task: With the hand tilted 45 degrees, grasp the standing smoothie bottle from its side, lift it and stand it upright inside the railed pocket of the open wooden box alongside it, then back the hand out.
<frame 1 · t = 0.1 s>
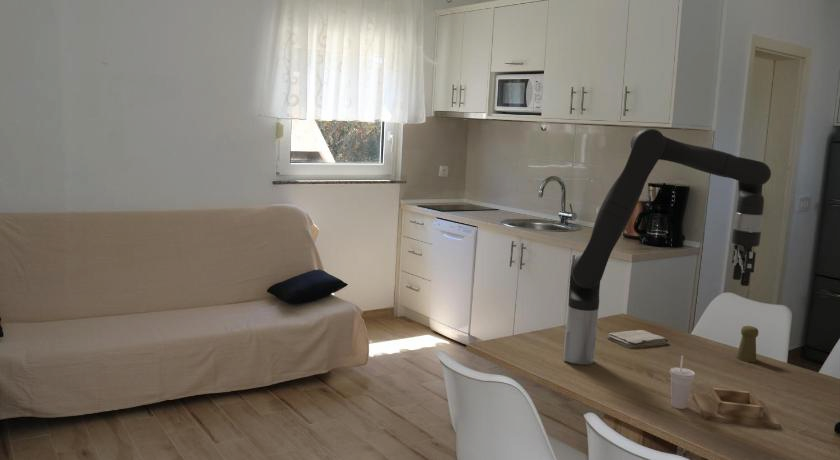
hand: (740, 282, 216), 29 cm above the table, tool pointing down, fingers open, 8 cm apart
open wooden box: (733, 412, 192), on the table
cork: (746, 359, 238), on the table
washcloth: (636, 343, 251), on the table
smoothie: (678, 406, 194), on the table
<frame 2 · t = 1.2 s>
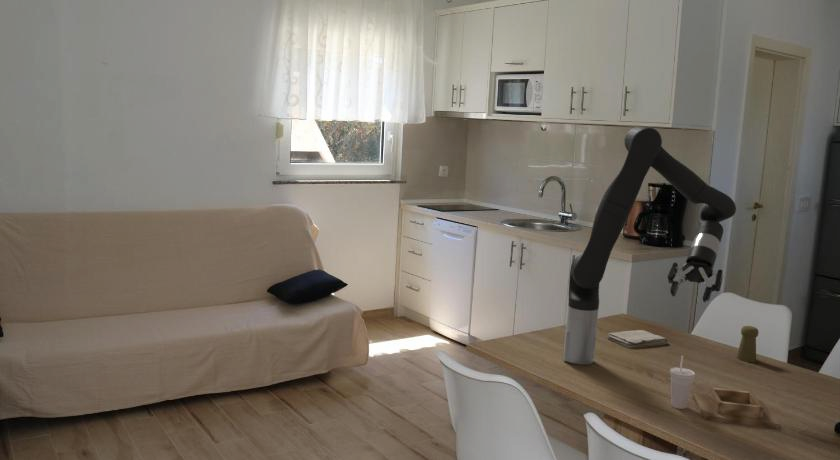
hand: (688, 297, 204), 27 cm above the table, tool tilted 45°, fingers open, 8 cm apart
nothing on the table moved.
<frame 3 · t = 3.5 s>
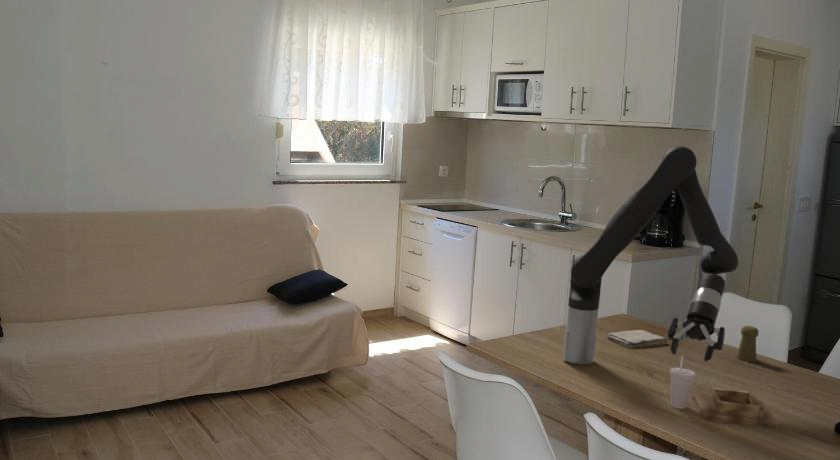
hand: (689, 356, 197), 12 cm above the table, tool tilted 45°, fingers open, 8 cm apart
nothing on the table moved.
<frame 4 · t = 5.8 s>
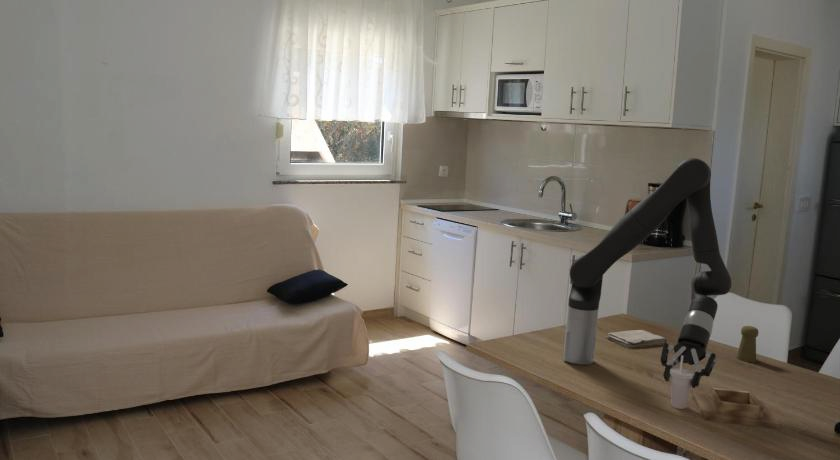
hand: (679, 383, 192), 7 cm above the table, tool tilted 45°, fingers closed on smoothie, 6 cm apart
smoothie: (678, 406, 194), on the table, touching gripper
everything else where it was.
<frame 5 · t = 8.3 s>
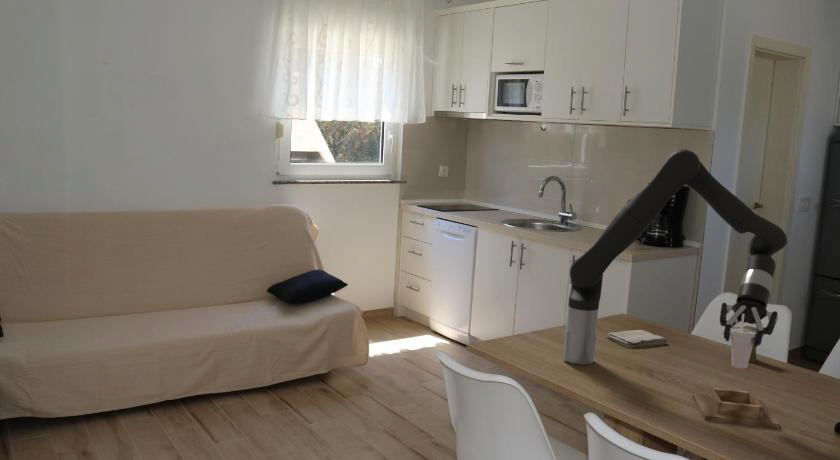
hand: (741, 342, 188), 20 cm above the table, tool tilted 45°, fingers closed on smoothie, 6 cm apart
smoothie: (739, 366, 190), point 13 cm above the table, touching gripper
everything else where it was.
when the fingers open (9 cm above the table, at t = 10.8 s): smoothie drops 1 cm, resting on open wooden box.
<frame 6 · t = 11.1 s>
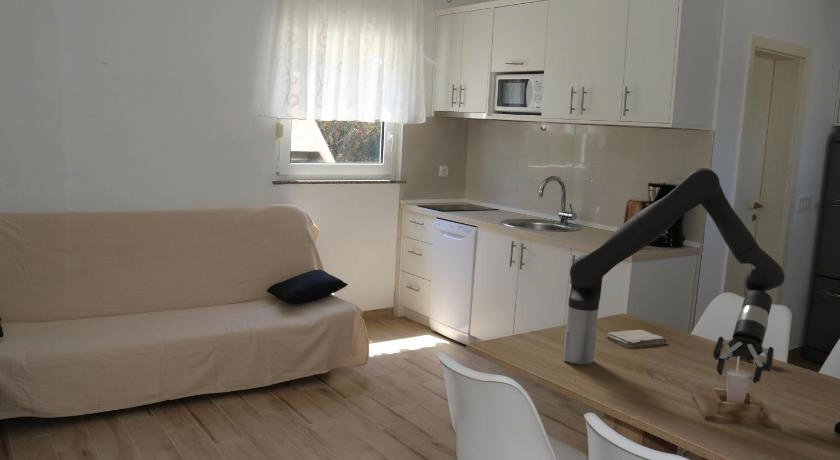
hand: (737, 377, 189), 10 cm above the table, tool tilted 45°, fingers open, 8 cm apart
smoothie: (734, 408, 192), point 1 cm above the table, touching open wooden box
everything else where it was.
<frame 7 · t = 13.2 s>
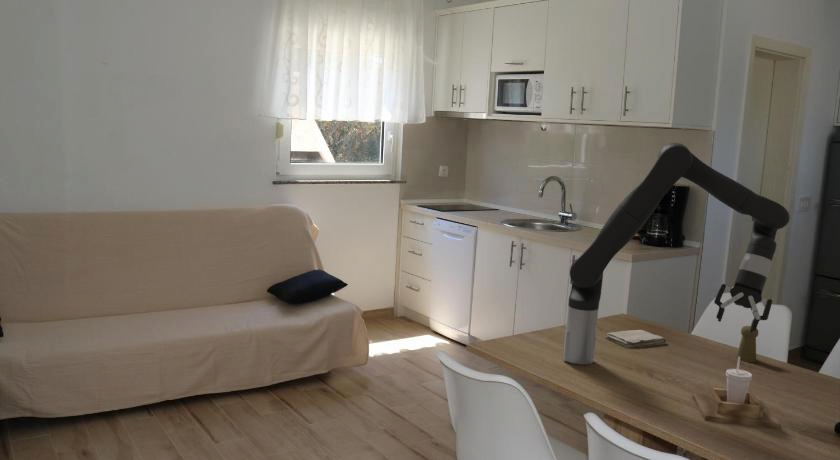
hand: (734, 326, 204), 19 cm above the table, tool tilted 20°, fingers open, 8 cm apart
nothing on the table moved.
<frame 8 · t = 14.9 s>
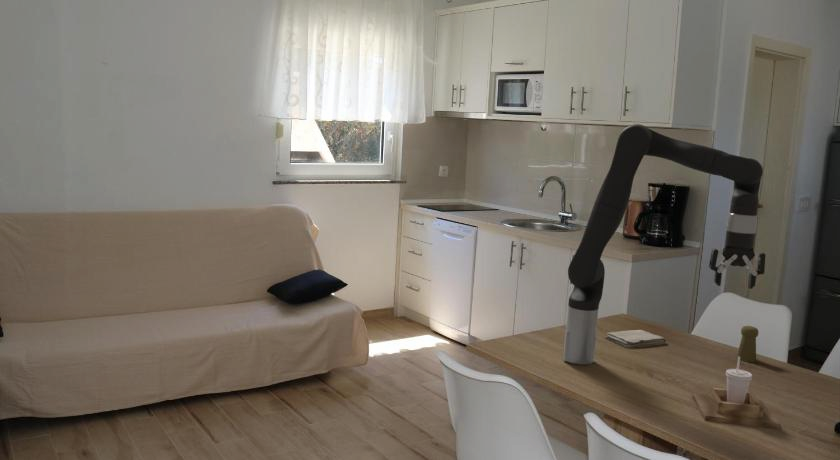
hand: (734, 286, 205), 30 cm above the table, tool pointing down, fingers open, 8 cm apart
nothing on the table moved.
at the end: smoothie inside the target area on the open wooden box (0.2 cm from its centre), point 1.0 cm above the open wooden box's base; smoothie tilted 1°; the gripper is holding nothing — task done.
